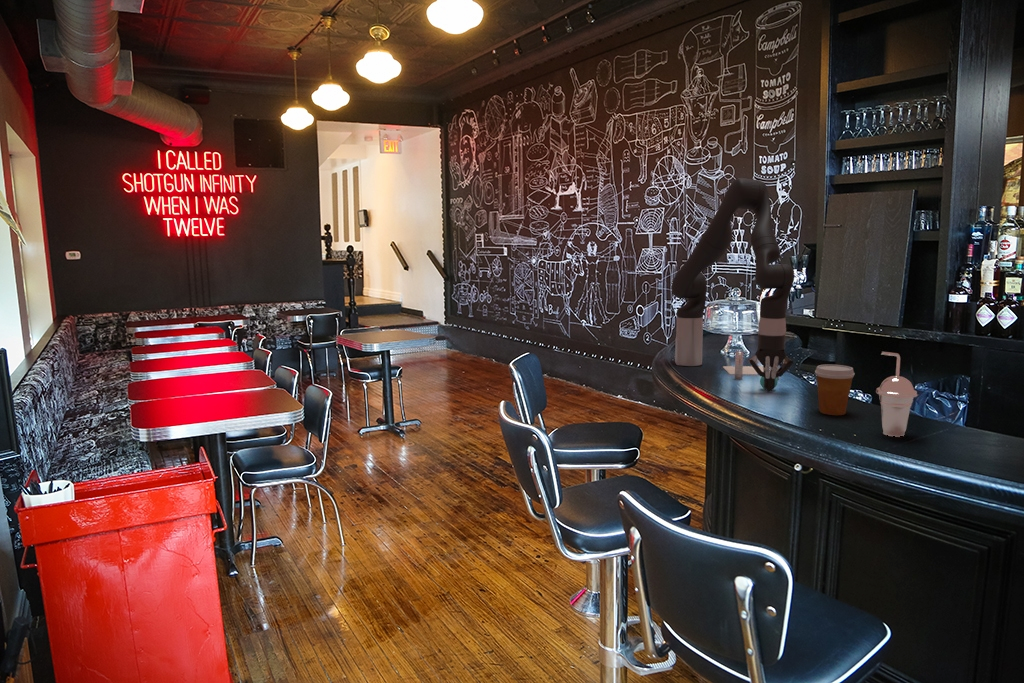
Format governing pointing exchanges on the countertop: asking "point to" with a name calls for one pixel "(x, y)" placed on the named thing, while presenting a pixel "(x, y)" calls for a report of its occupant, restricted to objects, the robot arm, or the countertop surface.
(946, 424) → the countertop surface
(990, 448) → the countertop surface
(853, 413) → the countertop surface
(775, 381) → the ball
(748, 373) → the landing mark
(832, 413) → the disposable coffee cup
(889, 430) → the cup with straw
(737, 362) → the post
